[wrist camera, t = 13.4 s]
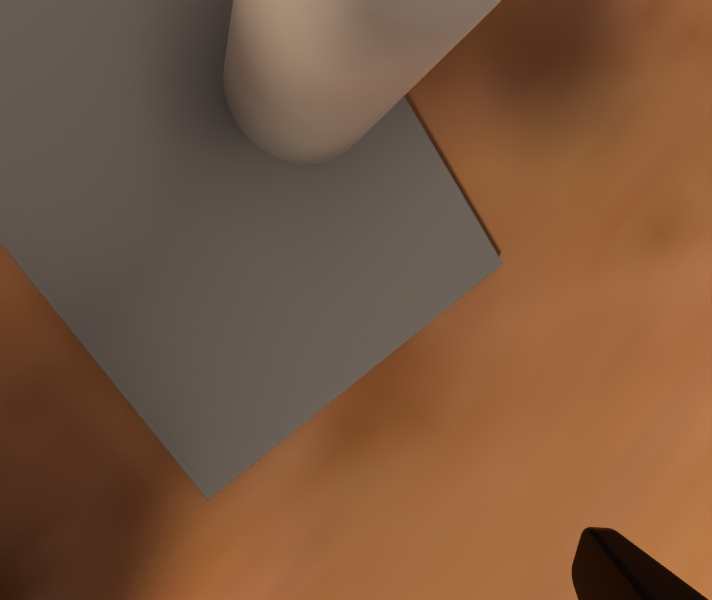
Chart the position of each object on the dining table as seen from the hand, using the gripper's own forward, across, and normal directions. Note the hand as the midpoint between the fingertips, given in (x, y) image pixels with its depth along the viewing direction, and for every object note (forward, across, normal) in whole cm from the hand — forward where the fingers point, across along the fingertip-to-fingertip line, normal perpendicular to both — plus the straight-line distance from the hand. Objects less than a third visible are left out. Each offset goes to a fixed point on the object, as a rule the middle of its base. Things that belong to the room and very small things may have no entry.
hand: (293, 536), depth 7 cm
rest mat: (+14, +4, -4) cm, 15 cm away
